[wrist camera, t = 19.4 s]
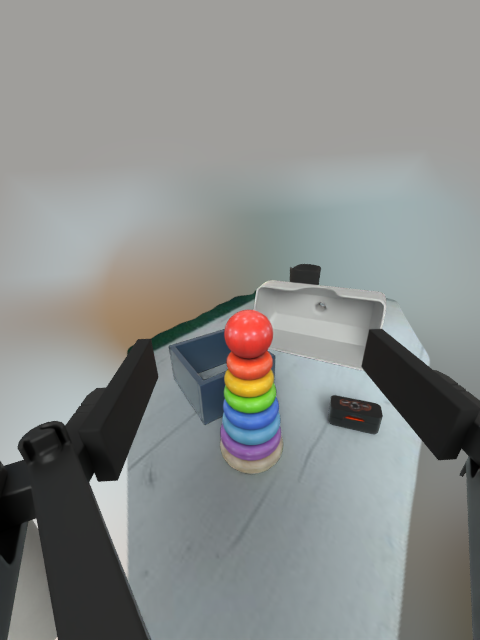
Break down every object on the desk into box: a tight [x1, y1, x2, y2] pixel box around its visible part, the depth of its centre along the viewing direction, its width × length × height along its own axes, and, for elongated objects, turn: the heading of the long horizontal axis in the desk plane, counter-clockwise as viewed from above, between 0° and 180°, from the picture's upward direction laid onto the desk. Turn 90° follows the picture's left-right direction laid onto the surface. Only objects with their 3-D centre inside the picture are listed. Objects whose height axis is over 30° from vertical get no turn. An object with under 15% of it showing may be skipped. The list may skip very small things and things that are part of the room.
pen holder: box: [290, 264, 321, 285], centre depth 82 cm, size 9×9×10 cm
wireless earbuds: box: [329, 395, 383, 434], centre depth 36 cm, size 5×7×3 cm, turn 71°
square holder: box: [169, 329, 275, 425], centre depth 43 cm, size 13×13×7 cm
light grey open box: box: [254, 280, 386, 371], centre depth 55 cm, size 25×16×12 cm, turn 62°
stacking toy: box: [220, 310, 283, 474], centre depth 29 cm, size 8×8×19 cm
